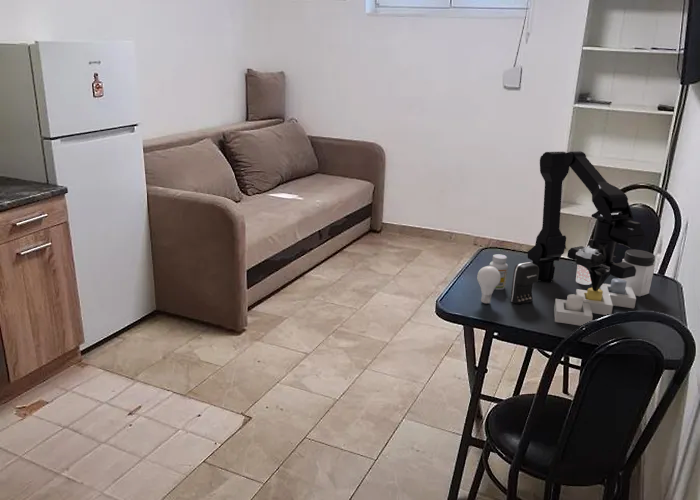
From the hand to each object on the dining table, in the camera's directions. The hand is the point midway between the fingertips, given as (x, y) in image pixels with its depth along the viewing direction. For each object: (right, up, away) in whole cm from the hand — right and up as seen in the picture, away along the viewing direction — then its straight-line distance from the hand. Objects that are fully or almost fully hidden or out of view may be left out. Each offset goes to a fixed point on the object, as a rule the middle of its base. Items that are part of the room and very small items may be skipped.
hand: (595, 290), depth 173 cm
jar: (+17, -1, +15) cm, 23 cm away
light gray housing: (+9, -3, +7) cm, 12 cm away
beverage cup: (+4, +1, +20) cm, 21 cm away
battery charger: (-20, -4, +3) cm, 20 cm away
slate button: (+9, -1, +7) cm, 11 cm away
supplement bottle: (-25, 0, +13) cm, 28 cm away
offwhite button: (-9, -5, -7) cm, 12 cm away
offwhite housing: (-9, -7, -6) cm, 13 cm away
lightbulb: (-31, -4, +1) cm, 31 cm away
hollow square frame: (0, -5, +2) cm, 5 cm away
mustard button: (0, -4, +1) cm, 4 cm away
